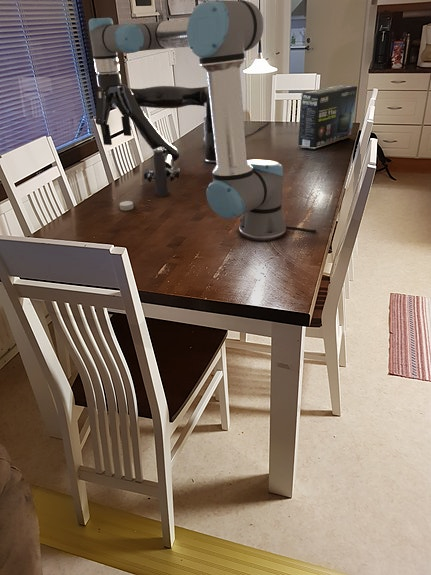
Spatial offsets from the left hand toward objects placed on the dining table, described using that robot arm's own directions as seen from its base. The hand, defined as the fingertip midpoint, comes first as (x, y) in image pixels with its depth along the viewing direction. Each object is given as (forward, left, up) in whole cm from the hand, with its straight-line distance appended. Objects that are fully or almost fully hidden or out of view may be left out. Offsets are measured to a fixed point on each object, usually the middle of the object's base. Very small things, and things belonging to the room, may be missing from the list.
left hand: (160, 179), depth 179 cm
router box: (-100, +42, -7) cm, 109 cm away
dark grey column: (-2, -1, -7) cm, 7 cm away
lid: (+16, -6, -5) cm, 18 cm away
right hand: (+16, -5, +18) cm, 25 cm away
